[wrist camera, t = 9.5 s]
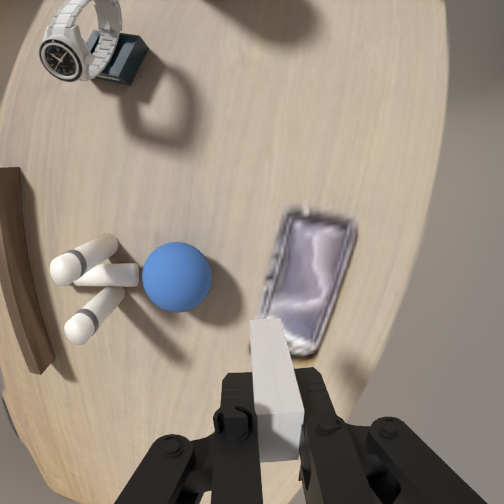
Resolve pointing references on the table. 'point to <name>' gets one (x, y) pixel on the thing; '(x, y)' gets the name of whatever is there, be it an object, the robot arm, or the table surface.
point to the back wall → (20, 277)
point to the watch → (91, 46)
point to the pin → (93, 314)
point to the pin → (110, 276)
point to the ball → (176, 277)
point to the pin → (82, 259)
